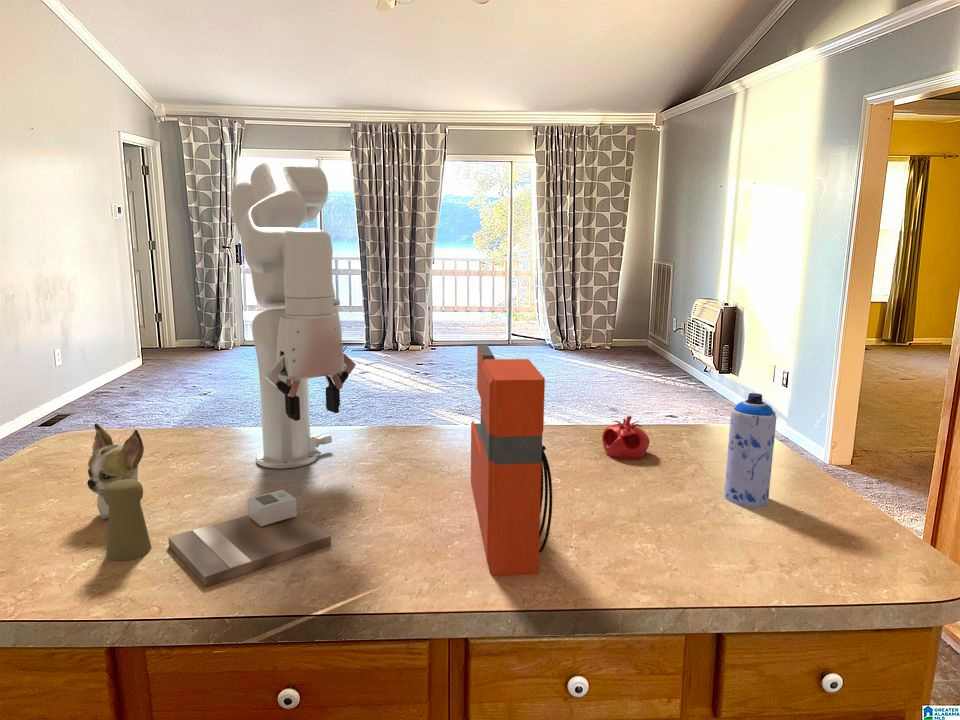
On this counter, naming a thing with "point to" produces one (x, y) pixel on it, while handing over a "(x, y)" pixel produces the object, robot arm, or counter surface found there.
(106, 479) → the ceramic sculpture
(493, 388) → the toy gas pump
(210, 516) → the counter surface
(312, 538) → the board
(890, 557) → the counter surface
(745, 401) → the aerosol can
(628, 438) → the pomegranate
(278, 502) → the white box with button
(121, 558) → the olive pawn figure
